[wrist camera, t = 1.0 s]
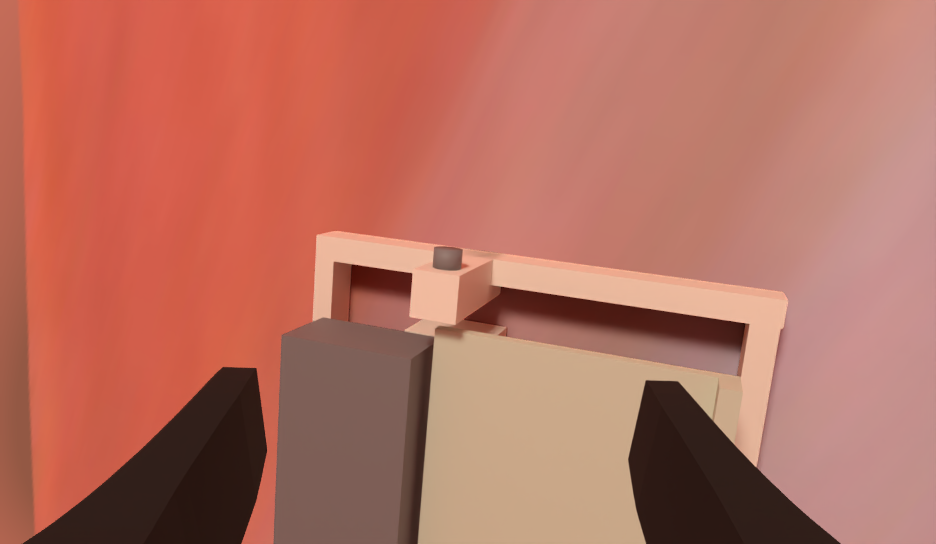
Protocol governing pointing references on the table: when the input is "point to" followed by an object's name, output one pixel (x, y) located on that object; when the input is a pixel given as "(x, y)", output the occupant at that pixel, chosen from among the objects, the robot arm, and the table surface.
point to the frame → (484, 273)
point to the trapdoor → (463, 437)
